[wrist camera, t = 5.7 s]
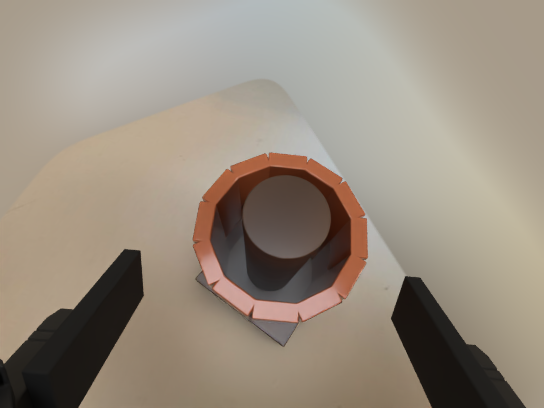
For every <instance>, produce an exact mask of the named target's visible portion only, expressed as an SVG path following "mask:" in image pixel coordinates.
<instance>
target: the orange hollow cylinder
mask: <svg viewBox="0 0 544 408" xmlns="http://www.w3.org/2000/svg"><path fill="white" fill-rule="evenodd" d="M280 175H290V176H296V177H299V178H302V179H304V180H307V181H308V182H310V183H312V184H313V185H314V186H315V187H317V188H318V189H319V190H320V192H321V193H322V194H323V196H324V197H325V199H326V201H327V203H328V206H329V209H330V214H331V224H330V229H329V232H328V235H327V237H326V239H325V241H324V242H323V243H322V245H321V246H320V247H319V248H318V249H317V250H316V252H315V253H314V254H313V255H312V256H311V258H312V280H311V284H310V285H309V287H308V288H307V290H306V292H305V293H304V295H303V296H302V298H301V299H300V301H299V302H297V303H290V302H280V301H270V300H259V299H255V298H254V297H253V296H251V295H250V294H249V293H247V292H246V291H245V290H243V289H242V288H241V287H239V286H238V285H237V284H235V283H234V282H233V281H231V280H230V279H229V278H228V276H227V267H228V260H229V253H230V250H231V249H232V248H233V246H234V245H235V244H236V243H237V241H238V240H239V239H240V237H241V236H242V235H243V234H244V233H243V221H242V210H243V205H244V203H245V200H246V198H247V196H248V194H249V193H250V192H251V190H252V189H253V188H254V187H255V186H256V185H258V184H259V183H260V182H262V181H264V180H266V179H268V178H271V177H274V176H280ZM341 181H342V178H341V177H340V176H338V175H337V174H335V173H333V172H332V171H330V170H329V169H327V168H326V167H324V166H322V165H321V164H319V163H318V162H316V161H314V160H313V159H309V161H308V162H307V157H306V156H297V155H288V154H279V153H269V159H268V157H267V155H266V154H262V155H259V156H256V157H254V158H251V159H248V160H246V161H243V162H240V163H238V164H235V165H232V166H231V171H230V170H228V169H226V170H225V171H224V173H223V174H222V175H221V176H220V177H219V178H218V180H217V181H216V182H215V183H214V184H213V185H212V186H211V188H210V189H209V190H208V191H207V192H206V193H205V194H204V196H203V197H202V198H203V201H204V202H203V201H201V202H200V203H199V208H198V214H197V219H196V224H195V230H194V235H193V241H194V243H195V244H194V245H193V248H194V250H195V253H196V255H197V258H198V261H199V263H200V266H201V269H202V271H203V274H204V276H205V279H206V282H207V284H208V285H209V286H210V287H211V288H212V291H213V292H215V293H216V294H217V295H218V296H219V297H220V298H221V299H223V300H224V301H225V302H226V303H227V304H228V305H229V306H231V307H232V308H233V309H235V310H236V311H237V312H239V313H240V314H241V315H243V316H244V317H245V318H247V319H248V320H250V318H251V317H252V322H263V323H273V324H291V323H298V322H305V321H307V320H309V319H311V318H312V317H314V316H316V315H318V314H320V313H322V312H324V311H326V310H328V309H330V308H332V307H334V306H336V305H338V304H340V303H342V300H343V299H346V298H347V296H348V294H349V292H350V291H351V289H352V287H353V286H354V284H355V282H356V280H357V279H358V277H359V275H360V274H361V272H362V270H363V268H364V267H365V265H366V262H365V261H364V260H366V259H367V258H368V249H367V219H366V218H362V217H364V216H365V213H364V211H363V210H362V208H361V206H360V204H359V203H358V201H357V199H356V198H355V196H354V194H353V193H352V191H351V189H350V188H349V186H348V184H347V183H346V182H342V183H341Z"/></svg>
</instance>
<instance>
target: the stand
mask: <svg viewBox="0 0 544 408" xmlns="http://www.w3.org/2000/svg"><path fill="white" fill-rule="evenodd" d="M242 221H243V233H244V234H243V235H242V236H241V237H240V239H239V240H238V241H237V243H236V244H235V245H234V246H233V248H232V249H231V250H230V253H229V260H228V267H227V276H228V278H229V279H230V280H231V281H233V282H234V283H235V284H237V285H238V286H239V287H241V288H242V289H243V290H245V291H246V292H247V293H249V294H250V295H251V296H253V297H254V298H255V299H259V300H270V301H280V302H290V303H297V302H299V301H300V299H301V298H302V296H303V295H304V293H305V292H306V290H307V288H308V287H309V285H310V284H311V280H312V258H311V256H312V255H313V254H314V253H315V252H316V250H317V249H318V248H319V247H320V246H321V245H322V243H323V242H324V241H325V239H326V237H327V235H328V232H329V229H330V224H331V214H330V209H329V206H328V203H327V201H326V199H325V197H324V196H323V194H322V193H321V192H320V190H319V189H318V188H317V187H315V186H314V185H313V184H312V183H310V182H308V181H307V180H304V179H302V178H299V177H296V176H290V175H280V176H274V177H271V178H268V179H266V180H264V181H262V182H260V183H259V184H258V185H256V186H255V187H254V188H253V189H252V190H251V192H250V193H249V194H248V196H247V198H246V200H245V203H244V205H243V210H242ZM196 280H197V281H198V282H199V283H201V284H202V285H203V286H204V287H206V288H207V289H208V290H210V291H211V292H212V293H214V294H215V295H216V296H218V295H217V294H216V293H215V292H213V291H212V288H211V287H210V286H209V285H208V284H207V282H206V279H205V276H204V274H203V271H201V273H200V274H199V275H198V276H197V278H196ZM218 297H219V296H218ZM219 298H220V297H219ZM220 299H221V298H220ZM221 300H223V299H221ZM223 301H224V300H223ZM224 302H225V301H224ZM225 303H226V302H225ZM238 313H239V312H238ZM242 316H243V315H242ZM246 319H247V318H246ZM249 321H250V322H252V317H251V318H250V320H249ZM252 323H253V324H254V325H256V326H257V327H258V328H259V329H261V330H262V331H263V332H265V333H266V334H267V335H269V336H270V337H271V338H273V339H274V340H275V341H276V342H278V343H279V344H280V345H282V346H283V347H284V346H285V344H286V343H287V341H288V339H289V338H290V336H291V335H292V333H293V331H294V330H295V328H296V327H297V325H298V323H299V322H298V323H291V324H273V323H263V322H252Z"/></svg>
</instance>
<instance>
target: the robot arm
mask: <svg viewBox="0 0 544 408" xmlns="http://www.w3.org/2000/svg"><path fill="white" fill-rule="evenodd" d="M143 296H144V292H143V279H142V265H141V252H140V251H139V250H128V249H124V250H123V252H122V253H121V254H120V255H119V256H118V257H117V259H116V260H115V261H114V262H113V263H112V265H111V266H110V267H109V268H108V269H107V270H106V272H105V273H104V274H103V275H102V276H101V278H100V279H99V280H98V281H97V282H96V284H95V285H94V286H93V287H92V288H91V289H90V291H89V292H88V293H87V294H86V295H85V297H84V298H83V299H82V300H81V301H80V302H79V304H78V305H77V306H76V307H75V308H74V310H72V309H60V310H58V311H57V312H55V313H53V314H52V315H50V316H49V317H47V318H46V319H45V320H44V321H43V323H42V324H41V325H40V326H39V327H38V328H37V330H36V331H34V332H33V333H32V334H31V336H30V337H29V338H28V340H26V341H25V342H24V343H23V344H22V345H21V346H20V347H19V349H18V350H17V351H16V352H15V353H14V354H13V355H12V356H11V357H10V358H9V359H8V360H7V362H6V363H5V364H4V363H3V361H2V360H1V359H0V408H78V407H79V405H80V404H81V402H82V400H83V399H84V397H85V395H86V393H87V392H88V390H89V388H90V387H91V385H92V383H93V382H94V380H95V378H96V376H97V375H98V373H99V371H100V370H101V368H102V366H103V364H104V363H105V361H106V359H107V358H108V356H109V354H110V352H111V351H112V349H113V347H114V346H115V344H116V342H117V341H118V339H119V337H120V335H121V334H122V332H123V330H124V329H125V327H126V325H127V323H128V322H129V320H130V318H131V317H132V315H133V313H134V311H135V310H136V308H137V306H138V305H139V303H140V301H141V300H142V298H143ZM391 320H392V322H393V324H394V326H395V328H396V331H397V333H398V335H399V337H400V339H401V341H402V344H403V346H404V348H405V350H406V352H407V354H408V357H409V359H410V361H411V363H412V365H413V367H414V370H415V372H416V374H417V376H418V378H419V380H420V383H421V385H422V387H423V389H424V391H425V393H426V396H427V398H428V400H429V402H430V404H431V406H432V408H526V407H525V406H524V405H523V403H522V402H521V400H520V399H519V398H518V396H517V395H516V394H515V392H514V391H513V389H512V388H511V387H510V385H509V384H508V383H507V381H505V380H504V378H503V376H502V375H501V373H500V372H499V371H497V368H496V367H495V365H494V364H493V362H492V361H491V360H490V359H489V357H488V356H487V355H486V354H485V353H483V351H481V350H480V349H479V348H478V347H477V346H476V345H468V344H466V343H465V342H464V340H463V339H462V337H461V336H460V335H459V333H458V332H457V330H456V329H455V327H454V326H453V324H452V323H451V321H450V320H449V319H448V317H447V316H446V314H445V313H444V311H443V310H442V309H441V307H440V306H439V304H438V303H437V301H436V300H435V298H434V297H433V295H432V294H431V293H430V291H429V290H428V288H427V287H426V285H425V284H424V282H423V281H422V280H421V278H418V277H408V276H405V278H404V281H403V284H402V287H401V290H400V293H399V296H398V299H397V302H396V305H395V308H394V311H393V314H392V317H391Z"/></svg>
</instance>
